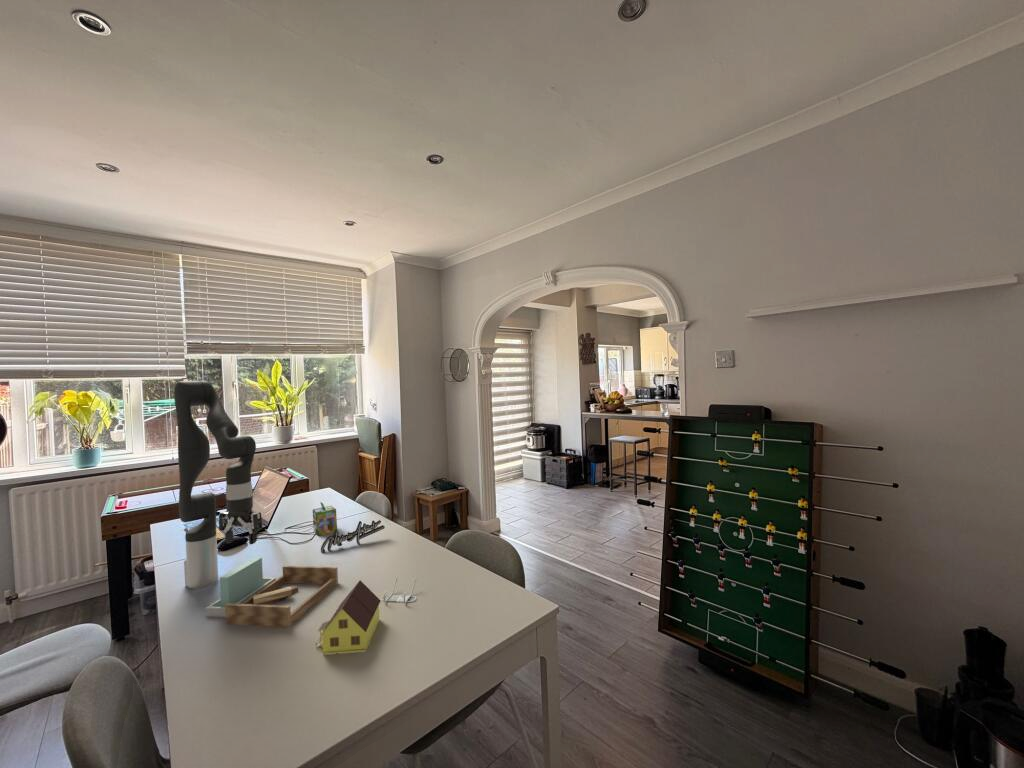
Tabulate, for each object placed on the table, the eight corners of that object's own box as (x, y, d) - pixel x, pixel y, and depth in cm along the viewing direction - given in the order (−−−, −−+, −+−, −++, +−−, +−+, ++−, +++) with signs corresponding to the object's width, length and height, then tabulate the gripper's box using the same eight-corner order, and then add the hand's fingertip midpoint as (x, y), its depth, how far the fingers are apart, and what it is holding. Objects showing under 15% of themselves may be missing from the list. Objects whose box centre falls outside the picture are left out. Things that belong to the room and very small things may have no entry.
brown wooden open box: (225, 624, 129) (224, 605, 129) (284, 581, 155) (284, 565, 155) (288, 627, 126) (288, 607, 126) (338, 583, 153) (337, 567, 152)
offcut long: (240, 617, 133) (240, 610, 133) (293, 591, 149) (293, 585, 149) (245, 619, 132) (244, 612, 132) (298, 593, 148) (297, 586, 148)
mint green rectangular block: (221, 611, 135) (219, 577, 135) (255, 588, 150) (254, 557, 150) (229, 611, 135) (227, 577, 135) (263, 588, 150) (261, 557, 150)
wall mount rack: (376, 605, 137) (376, 591, 137) (390, 589, 148) (389, 576, 148) (412, 606, 136) (412, 592, 136) (423, 590, 146) (423, 577, 146)
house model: (303, 664, 110) (301, 615, 110) (330, 620, 130) (329, 579, 130) (373, 658, 111) (371, 611, 111) (390, 616, 131) (389, 575, 131)
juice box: (337, 532, 205) (336, 502, 205) (317, 537, 200) (316, 506, 200) (332, 527, 213) (331, 498, 213) (313, 532, 207) (311, 502, 207)
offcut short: (253, 601, 139) (253, 595, 139) (291, 591, 144) (291, 586, 144) (253, 604, 136) (253, 599, 136) (291, 594, 142) (291, 589, 142)
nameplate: (324, 560, 181) (317, 539, 179) (323, 559, 182) (317, 538, 181) (386, 532, 195) (380, 512, 193) (385, 531, 196) (379, 511, 195)
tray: (206, 617, 133) (205, 607, 133) (254, 585, 154) (254, 577, 153) (230, 618, 132) (230, 608, 132) (276, 586, 152) (275, 577, 152)
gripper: (211, 498, 139) (213, 547, 140) (250, 499, 138) (252, 548, 138) (229, 492, 147) (231, 538, 147) (266, 492, 145) (268, 539, 145)
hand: (241, 543), depth 143 cm, fingers open, 8 cm apart
